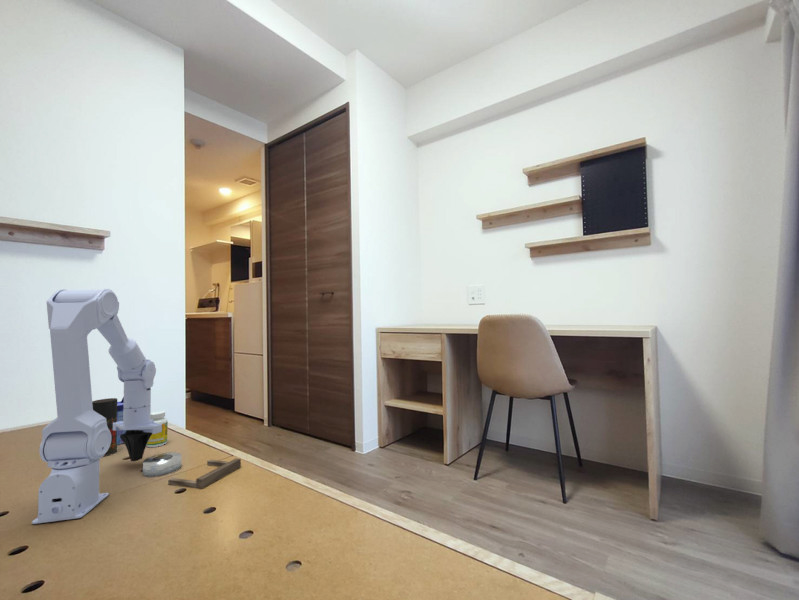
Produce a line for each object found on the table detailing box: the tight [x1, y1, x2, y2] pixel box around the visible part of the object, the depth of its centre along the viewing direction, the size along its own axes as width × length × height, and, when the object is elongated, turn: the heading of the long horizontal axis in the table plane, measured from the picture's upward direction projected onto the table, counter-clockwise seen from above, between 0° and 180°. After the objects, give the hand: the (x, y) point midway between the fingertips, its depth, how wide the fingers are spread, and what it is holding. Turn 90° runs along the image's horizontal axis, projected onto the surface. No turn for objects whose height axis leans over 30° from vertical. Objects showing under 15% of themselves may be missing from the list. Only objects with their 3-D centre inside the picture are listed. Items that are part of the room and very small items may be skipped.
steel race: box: [142, 451, 182, 478], centre depth 90 cm, size 8×8×3 cm
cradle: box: [167, 457, 242, 490], centre depth 86 cm, size 10×12×2 cm
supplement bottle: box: [146, 410, 169, 448], centre depth 109 cm, size 5×5×10 cm
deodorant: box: [92, 397, 118, 458], centre depth 103 cm, size 6×6×15 cm
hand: (136, 459), depth 93 cm, fingers closed
